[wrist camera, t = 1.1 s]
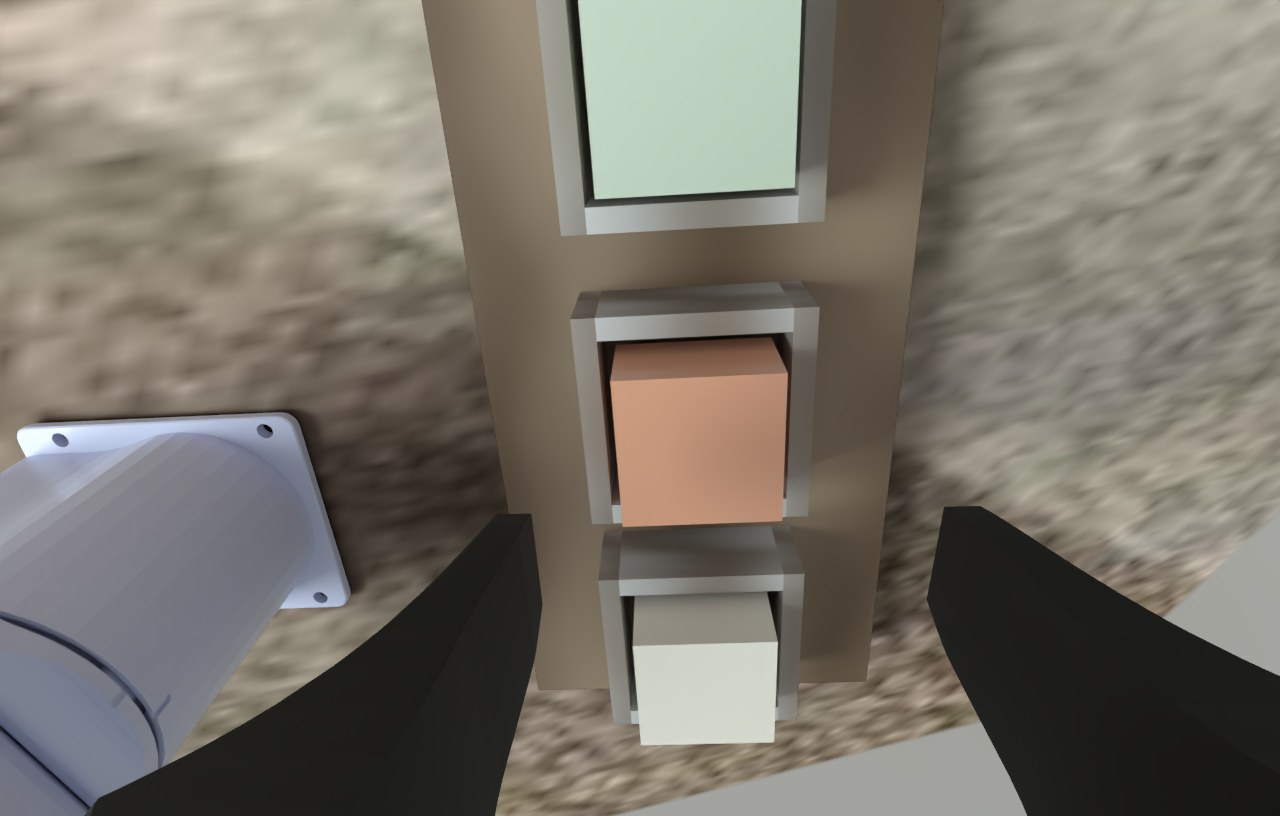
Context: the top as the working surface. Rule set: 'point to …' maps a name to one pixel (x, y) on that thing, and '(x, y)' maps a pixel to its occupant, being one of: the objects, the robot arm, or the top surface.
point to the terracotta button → (700, 431)
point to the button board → (691, 323)
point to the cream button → (705, 668)
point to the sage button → (691, 95)
